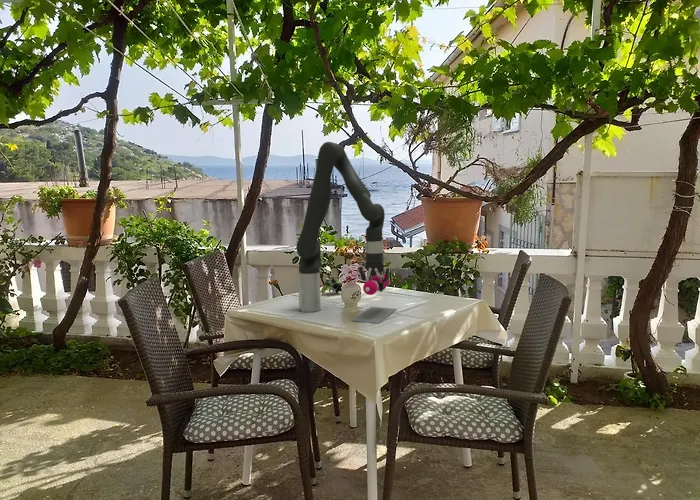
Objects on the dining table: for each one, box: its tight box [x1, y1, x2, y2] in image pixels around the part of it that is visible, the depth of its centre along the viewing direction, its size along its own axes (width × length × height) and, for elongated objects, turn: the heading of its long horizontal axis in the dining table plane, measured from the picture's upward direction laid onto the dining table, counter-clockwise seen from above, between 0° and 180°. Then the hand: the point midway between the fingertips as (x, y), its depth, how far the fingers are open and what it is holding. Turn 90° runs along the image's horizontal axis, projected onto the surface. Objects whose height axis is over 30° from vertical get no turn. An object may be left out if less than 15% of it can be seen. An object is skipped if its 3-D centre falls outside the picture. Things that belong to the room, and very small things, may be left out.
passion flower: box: [320, 275, 343, 297], centre depth 261 cm, size 11×11×12 cm
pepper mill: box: [362, 273, 390, 296], centre depth 218 cm, size 7×7×20 cm
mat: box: [351, 306, 398, 325], centre depth 220 cm, size 24×12×1 cm, turn 157°
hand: (375, 290), depth 219 cm, fingers closed on pepper mill, 5 cm apart
